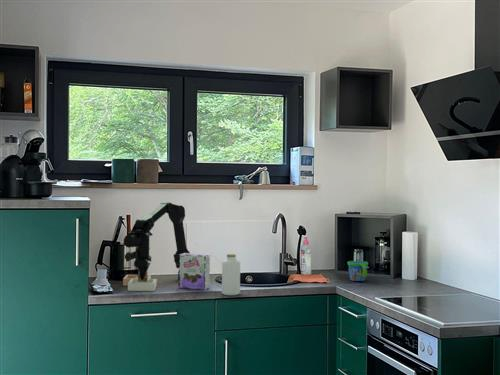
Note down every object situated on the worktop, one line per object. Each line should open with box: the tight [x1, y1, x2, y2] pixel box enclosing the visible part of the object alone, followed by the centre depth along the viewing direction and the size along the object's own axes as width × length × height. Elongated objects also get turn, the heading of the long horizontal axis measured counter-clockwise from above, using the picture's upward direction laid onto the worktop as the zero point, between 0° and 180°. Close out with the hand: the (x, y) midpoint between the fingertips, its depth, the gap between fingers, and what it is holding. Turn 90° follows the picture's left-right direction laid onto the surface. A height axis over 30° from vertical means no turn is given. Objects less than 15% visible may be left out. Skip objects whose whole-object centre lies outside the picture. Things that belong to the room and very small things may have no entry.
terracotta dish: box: [122, 274, 152, 287], centre depth 296 cm, size 12×12×4 cm
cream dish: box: [127, 278, 158, 293], centre depth 283 cm, size 12×12×4 cm
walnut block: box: [137, 271, 149, 282], centre depth 283 cm, size 4×4×4 cm
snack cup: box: [347, 260, 369, 282], centre depth 317 cm, size 16×10×10 cm
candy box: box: [178, 252, 211, 291], centre depth 289 cm, size 14×6×16 cm, turn 70°
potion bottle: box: [221, 253, 241, 296], centre depth 275 cm, size 8×8×18 cm
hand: (142, 279), depth 283 cm, fingers closed on walnut block, 4 cm apart
